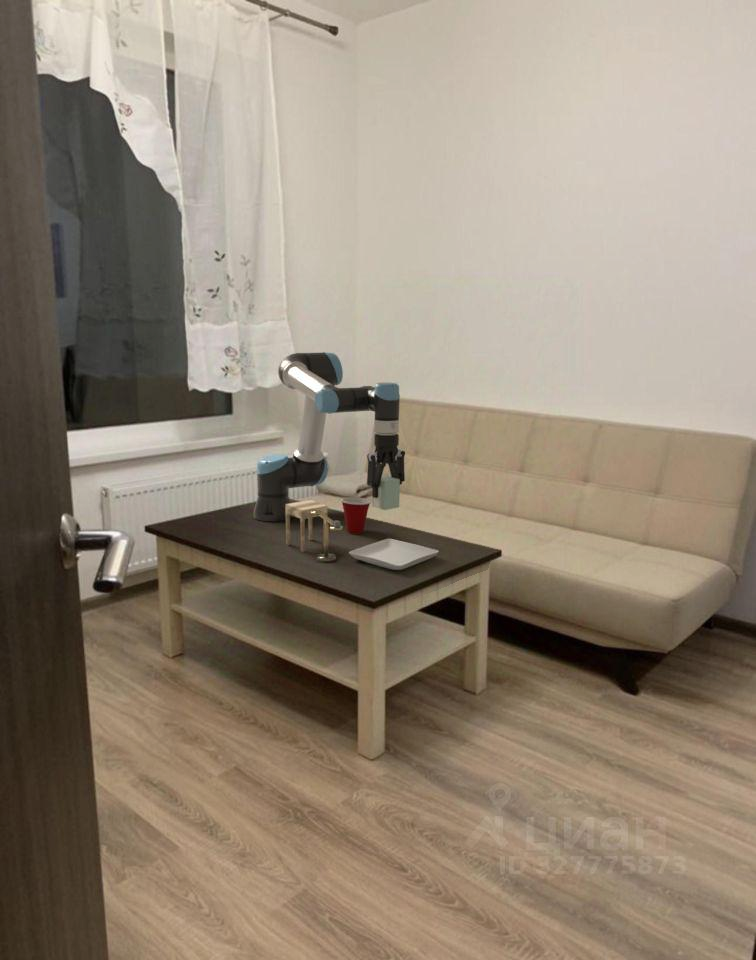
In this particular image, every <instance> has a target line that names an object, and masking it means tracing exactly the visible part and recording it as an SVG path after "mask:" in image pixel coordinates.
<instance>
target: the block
mask: <svg viewBox="0 0 756 960" xmlns="http://www.w3.org/2000/svg"><path fill="white" fill-rule="evenodd" d="M400 486H401V485H400V479H397V478H393V477H391V476H389V475H386V476H385V475H384V476H382V477H381V481H380V485H379V487H380V488H381V508H379V509H380V510H383V511H387V510H391V509H397V508H400V488H401V487H400ZM372 507H373V508H375V507H374V497H373V496H372Z"/></svg>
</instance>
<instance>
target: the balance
mask: <svg viewBox="0 0 756 960" xmlns="http://www.w3.org/2000/svg"><path fill="white" fill-rule="evenodd" d="M311 514H312V515H319V516H318V517H320V518H321V519H322V520H323V519H324V520H325V547H324V553H320V554H317V555H316V559H317V562H320V563H332V562H335V561H336V560H337V555H336V554H334V553H329V531H334V532H335V531H342V530H343V529H344V528H343V525H341V521H340V520H333V519H331V517H329V516H328V515H327V516H326V515H325V514H323V511H321V510H313V511H311ZM329 524H330V526H329Z"/></svg>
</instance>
